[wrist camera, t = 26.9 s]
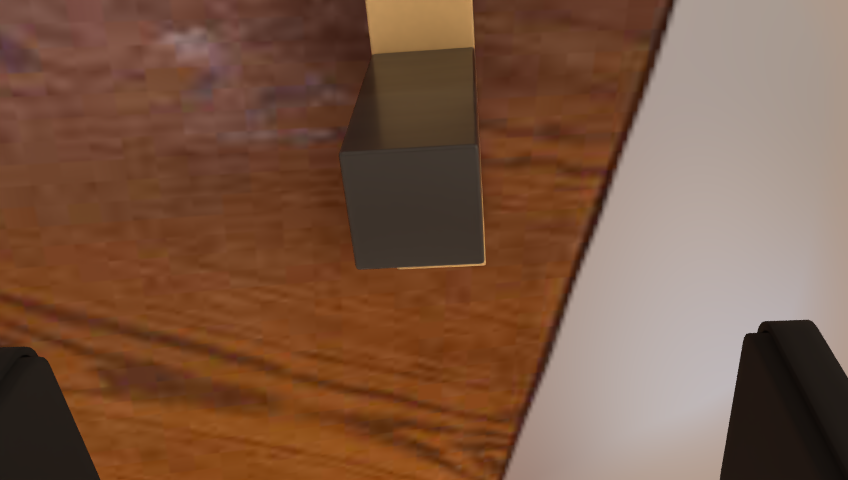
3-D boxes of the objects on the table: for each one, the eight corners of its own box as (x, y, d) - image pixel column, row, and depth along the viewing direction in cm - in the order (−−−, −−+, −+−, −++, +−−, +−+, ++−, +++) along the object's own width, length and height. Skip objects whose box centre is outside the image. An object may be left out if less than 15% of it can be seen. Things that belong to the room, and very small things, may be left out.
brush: (363, -128, 23) (303, -72, 14) (465, -137, 23) (466, -84, 14) (403, 226, 29) (377, 415, 20) (483, 222, 29) (492, 411, 20)
